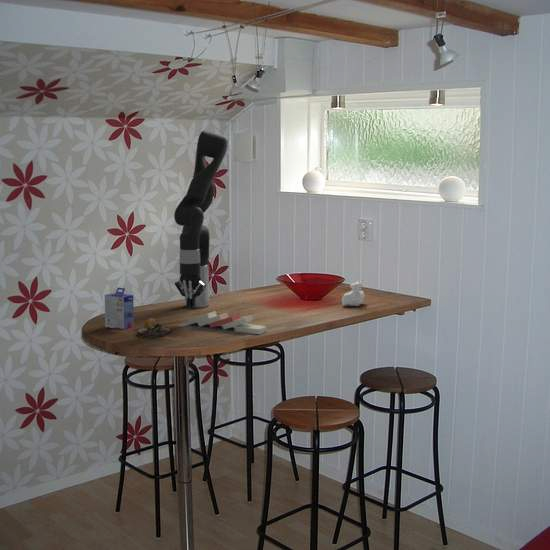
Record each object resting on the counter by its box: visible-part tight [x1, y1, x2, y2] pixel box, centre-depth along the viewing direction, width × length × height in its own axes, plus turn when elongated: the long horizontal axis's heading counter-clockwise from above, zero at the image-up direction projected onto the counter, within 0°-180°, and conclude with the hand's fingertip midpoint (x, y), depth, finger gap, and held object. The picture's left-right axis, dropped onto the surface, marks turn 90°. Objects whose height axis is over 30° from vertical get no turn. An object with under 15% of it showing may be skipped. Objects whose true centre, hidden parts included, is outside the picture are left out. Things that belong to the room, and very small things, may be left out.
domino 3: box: [222, 314, 255, 329], centre depth 270 cm, size 2×5×10 cm
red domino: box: [209, 313, 241, 328], centre depth 272 cm, size 2×5×10 cm
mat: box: [176, 321, 249, 336], centre depth 274 cm, size 29×11×1 cm, turn 62°
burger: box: [136, 317, 172, 339], centre depth 266 cm, size 12×12×8 cm
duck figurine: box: [341, 281, 366, 307], centre depth 314 cm, size 12×8×11 cm
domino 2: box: [198, 312, 229, 327], centre depth 275 cm, size 2×5×10 cm
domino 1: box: [186, 310, 218, 325], centre depth 277 cm, size 2×5×10 cm
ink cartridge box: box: [104, 287, 135, 330], centre depth 275 cm, size 10×6×14 cm, turn 58°
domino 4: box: [235, 323, 267, 335], centre depth 268 cm, size 2×5×10 cm
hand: (190, 308), depth 279 cm, fingers closed
